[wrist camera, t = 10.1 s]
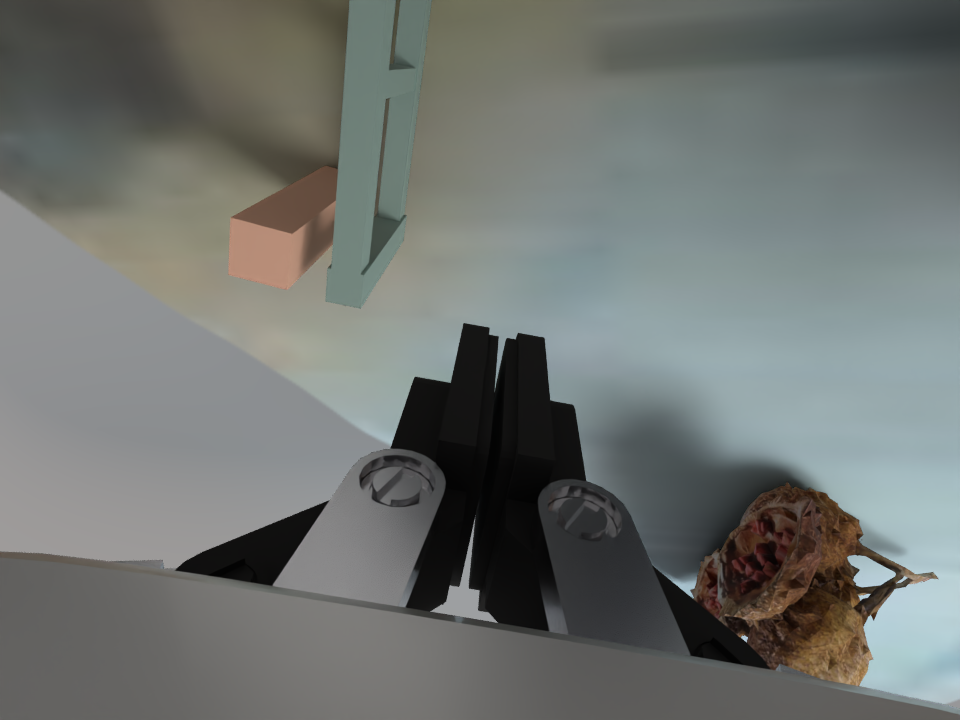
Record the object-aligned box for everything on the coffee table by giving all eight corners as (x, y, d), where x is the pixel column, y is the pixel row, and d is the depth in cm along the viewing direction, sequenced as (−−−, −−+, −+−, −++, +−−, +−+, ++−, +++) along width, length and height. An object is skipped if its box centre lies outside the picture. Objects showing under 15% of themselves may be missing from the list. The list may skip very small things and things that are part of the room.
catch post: (366, 176, 32) (292, 233, 21) (360, 217, 33) (287, 289, 23) (325, 165, 32) (230, 217, 21) (320, 206, 33) (228, 274, 22)
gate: (417, -171, 24) (351, -329, 14) (463, -160, 24) (427, -309, 14) (375, 232, 32) (315, 304, 23) (409, 239, 33) (363, 314, 23)
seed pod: (912, 438, 30) (675, 630, 30) (1085, 664, 32) (859, 839, 33) (764, 391, 44) (606, 522, 45) (890, 548, 46) (736, 671, 47)
